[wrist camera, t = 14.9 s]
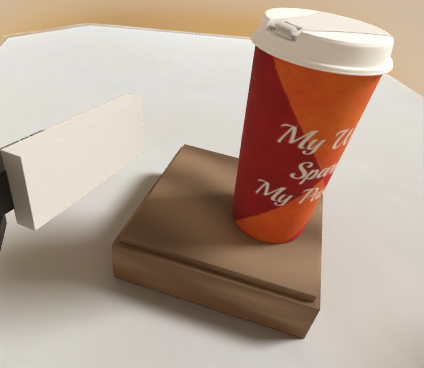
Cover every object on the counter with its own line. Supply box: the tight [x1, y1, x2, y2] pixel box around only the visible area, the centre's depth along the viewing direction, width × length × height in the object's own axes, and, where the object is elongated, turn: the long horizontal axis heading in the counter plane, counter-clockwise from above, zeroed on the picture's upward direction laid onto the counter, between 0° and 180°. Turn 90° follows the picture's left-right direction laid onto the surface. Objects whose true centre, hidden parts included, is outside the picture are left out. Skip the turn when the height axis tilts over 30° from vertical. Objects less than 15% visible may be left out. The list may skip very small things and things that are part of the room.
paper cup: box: [233, 8, 394, 244], centre depth 23 cm, size 8×8×14 cm
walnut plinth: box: [112, 145, 323, 338], centre depth 29 cm, size 14×14×4 cm
